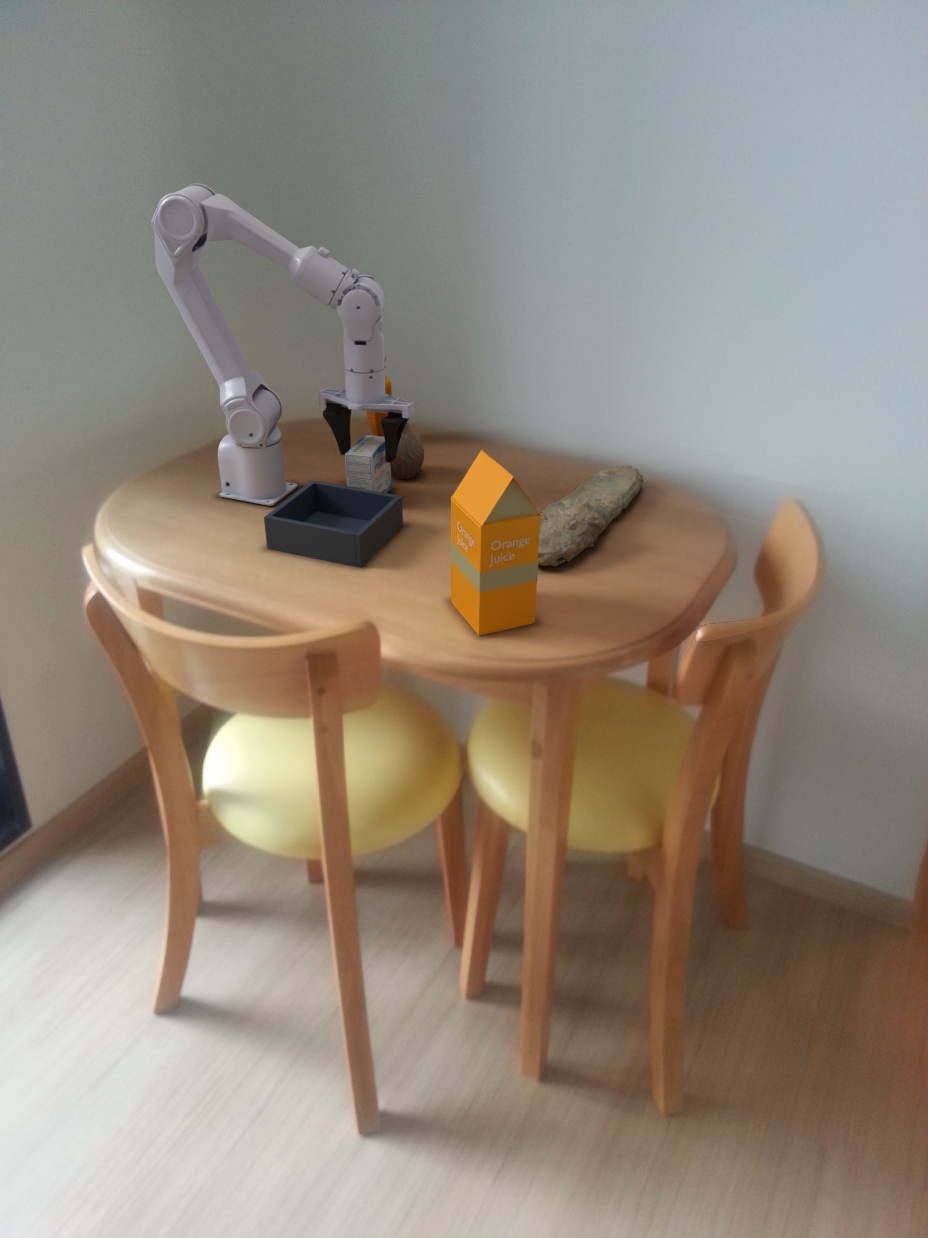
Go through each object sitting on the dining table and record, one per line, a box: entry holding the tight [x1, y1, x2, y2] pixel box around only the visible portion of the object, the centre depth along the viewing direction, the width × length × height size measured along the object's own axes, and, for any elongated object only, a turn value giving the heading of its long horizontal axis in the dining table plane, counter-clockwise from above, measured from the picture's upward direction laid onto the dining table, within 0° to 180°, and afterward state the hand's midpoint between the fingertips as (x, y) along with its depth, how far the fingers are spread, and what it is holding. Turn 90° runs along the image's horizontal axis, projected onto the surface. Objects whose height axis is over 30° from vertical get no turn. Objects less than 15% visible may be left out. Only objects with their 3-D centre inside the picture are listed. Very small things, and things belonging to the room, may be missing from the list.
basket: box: [263, 480, 404, 568], centre depth 136 cm, size 15×14×5 cm
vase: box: [390, 421, 425, 480], centre depth 154 cm, size 7×7×9 cm
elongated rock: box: [538, 465, 644, 567], centre depth 141 cm, size 35×5×10 cm
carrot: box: [365, 354, 392, 437], centre depth 165 cm, size 5×5×15 cm
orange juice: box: [449, 448, 541, 636], centre depth 115 cm, size 8×9×20 cm
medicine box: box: [344, 434, 392, 494], centre depth 146 cm, size 8×4×9 cm, turn 165°
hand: (368, 456), depth 145 cm, fingers open, 7 cm apart
